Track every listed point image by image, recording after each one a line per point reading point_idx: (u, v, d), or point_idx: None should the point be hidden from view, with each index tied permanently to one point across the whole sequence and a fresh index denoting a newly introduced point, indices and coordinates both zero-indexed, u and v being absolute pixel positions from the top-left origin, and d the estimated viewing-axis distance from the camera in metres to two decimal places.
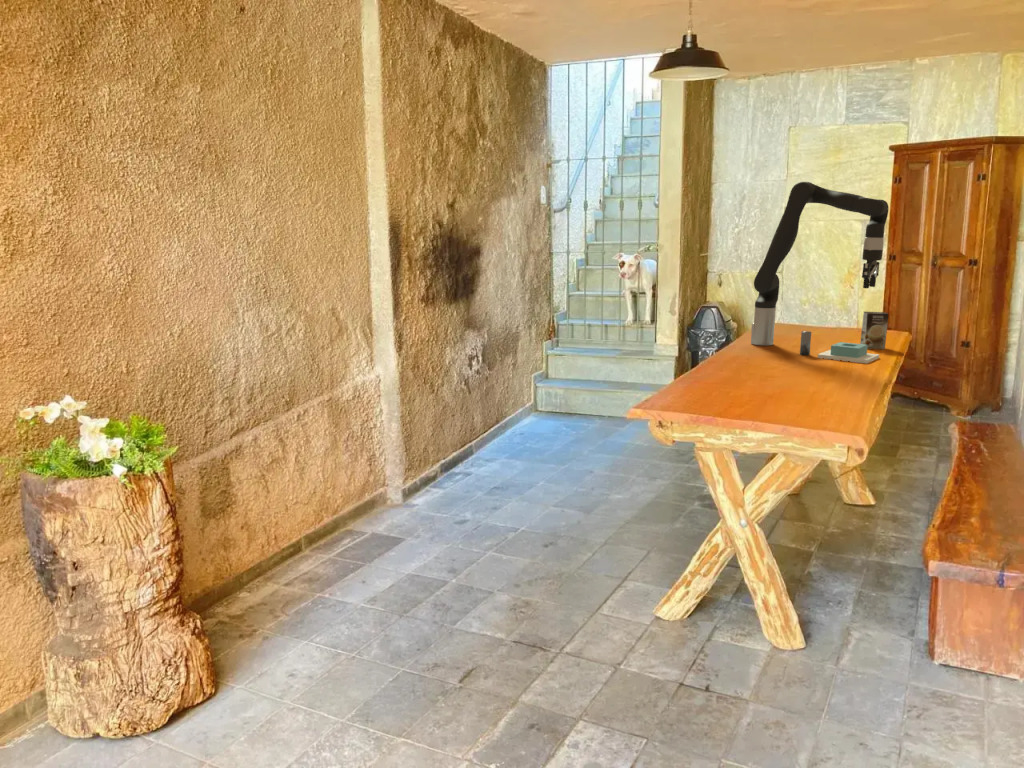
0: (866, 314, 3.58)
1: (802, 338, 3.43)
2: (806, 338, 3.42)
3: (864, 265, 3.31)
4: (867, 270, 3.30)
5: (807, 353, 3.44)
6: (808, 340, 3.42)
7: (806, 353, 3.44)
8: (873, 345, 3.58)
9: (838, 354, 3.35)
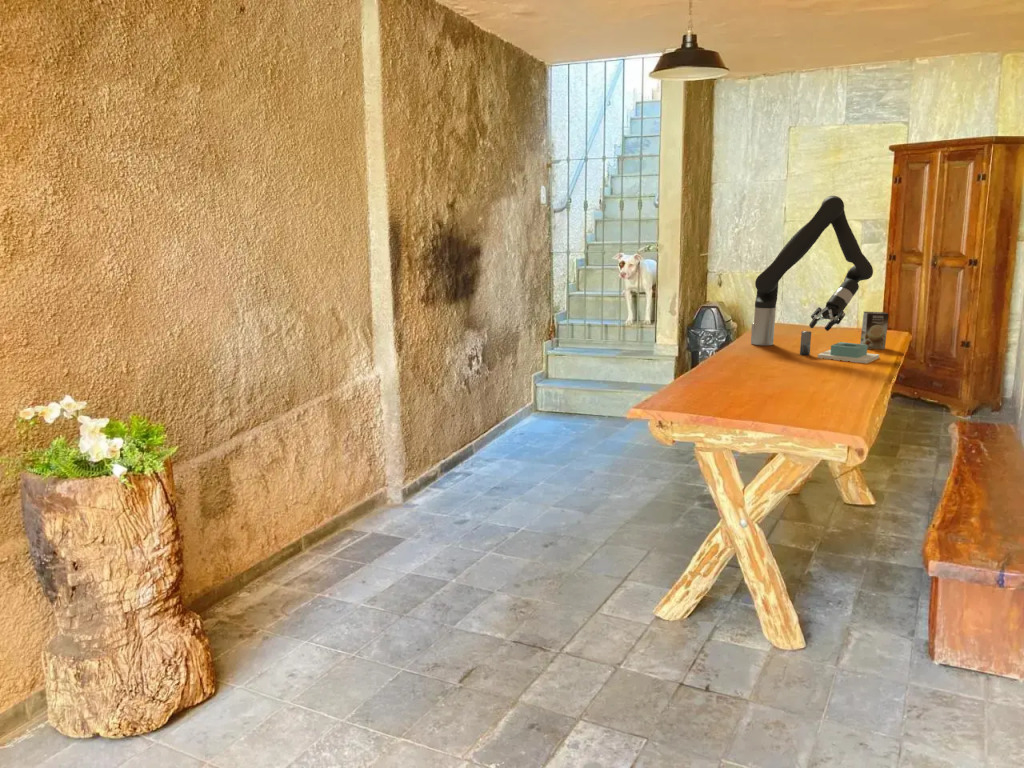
0: (866, 314, 3.58)
1: (802, 338, 3.43)
2: (806, 338, 3.42)
3: (842, 312, 3.41)
4: (841, 318, 3.42)
5: (807, 353, 3.44)
6: (808, 340, 3.42)
7: (806, 353, 3.44)
8: (873, 345, 3.58)
9: (838, 354, 3.35)
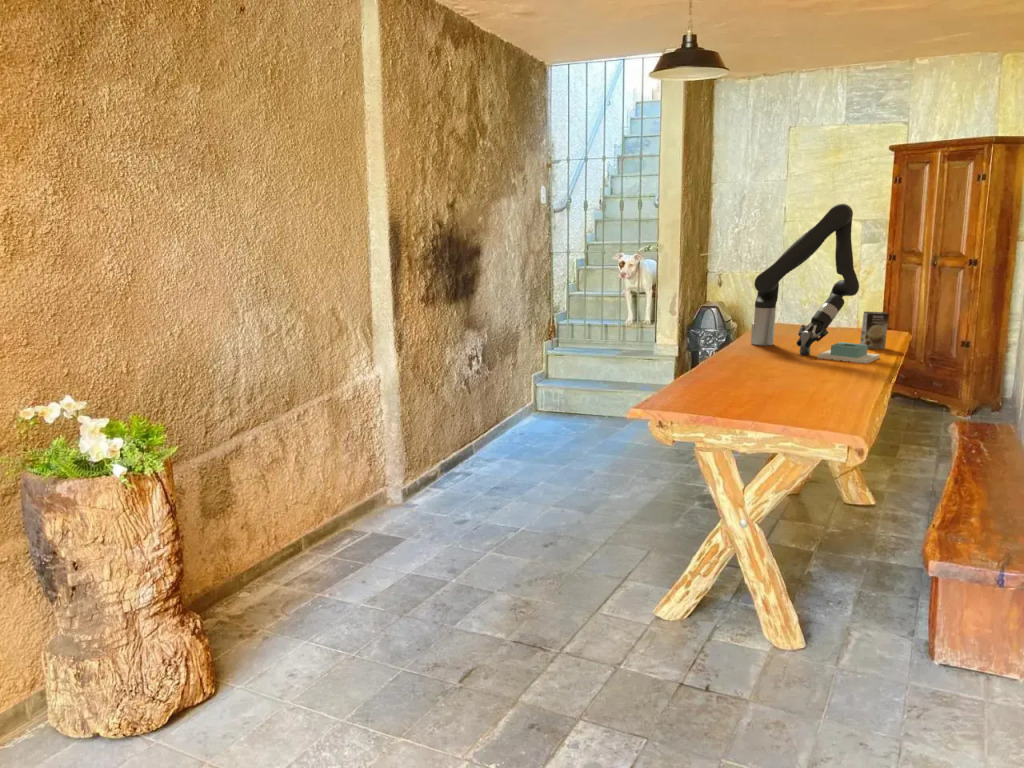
0: (866, 314, 3.58)
1: (802, 338, 3.43)
2: (806, 338, 3.42)
3: (825, 331, 3.39)
4: (823, 336, 3.40)
5: (807, 353, 3.44)
6: None
7: (806, 353, 3.43)
8: (873, 345, 3.58)
9: (838, 354, 3.35)
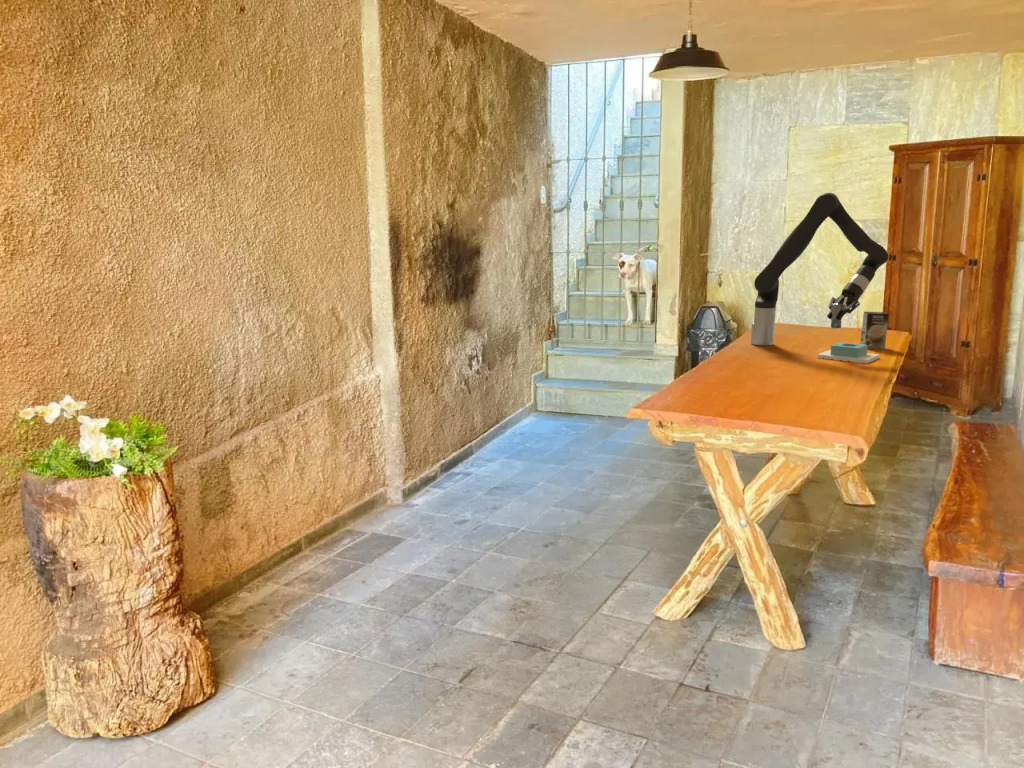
0: (866, 314, 3.58)
1: (833, 310, 3.35)
2: (837, 311, 3.34)
3: (856, 302, 3.31)
4: (854, 307, 3.32)
5: (838, 326, 3.36)
6: None
7: (838, 325, 3.36)
8: (873, 345, 3.58)
9: (838, 354, 3.35)
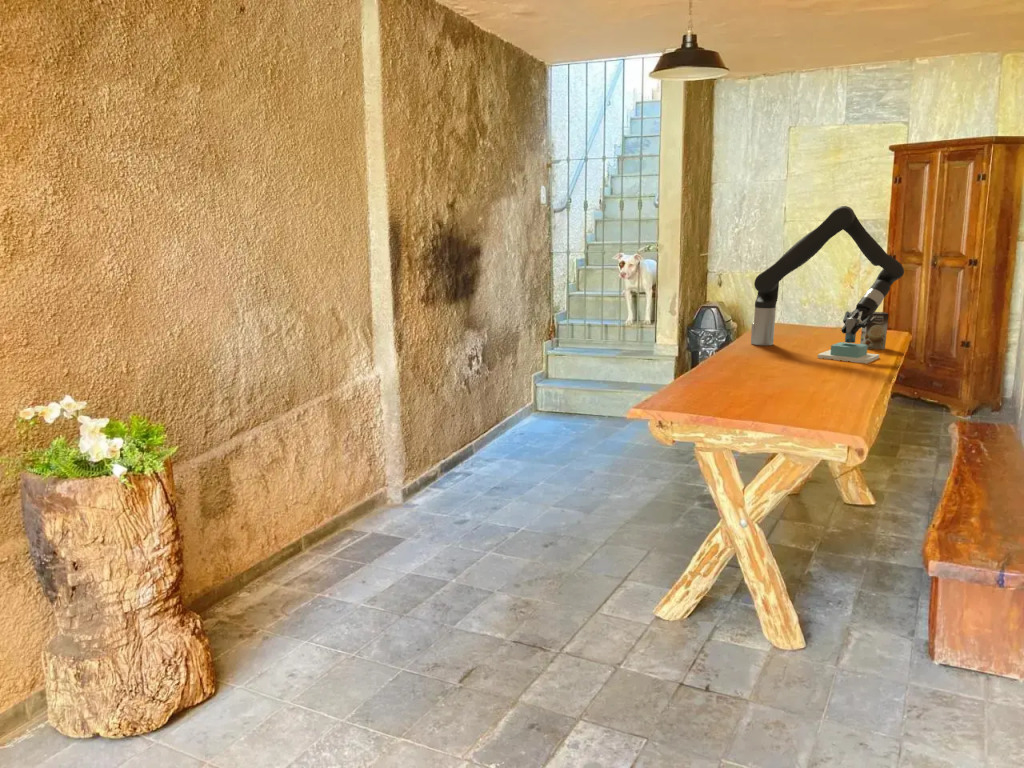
0: None
1: (847, 325, 3.34)
2: (851, 325, 3.33)
3: (871, 317, 3.30)
4: (869, 322, 3.31)
5: (853, 340, 3.34)
6: None
7: (852, 340, 3.34)
8: (873, 345, 3.58)
9: (838, 354, 3.35)
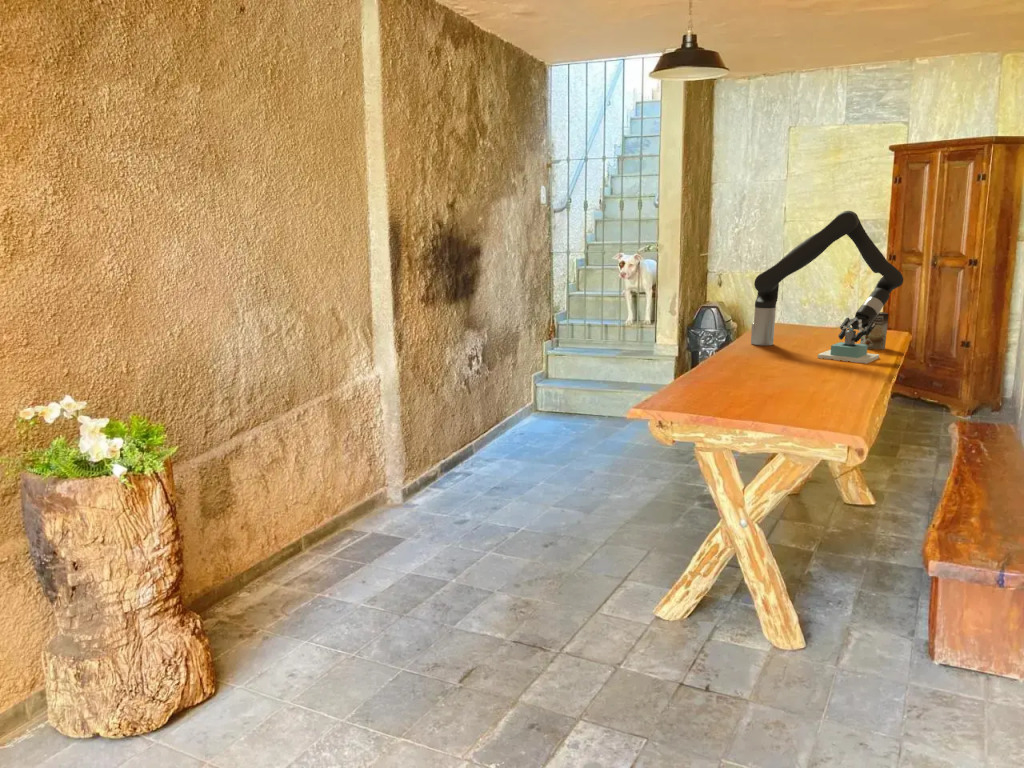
0: None
1: (846, 337, 3.35)
2: (850, 338, 3.34)
3: (872, 323, 3.31)
4: (871, 329, 3.31)
5: None
6: None
7: None
8: (873, 345, 3.58)
9: (838, 354, 3.35)
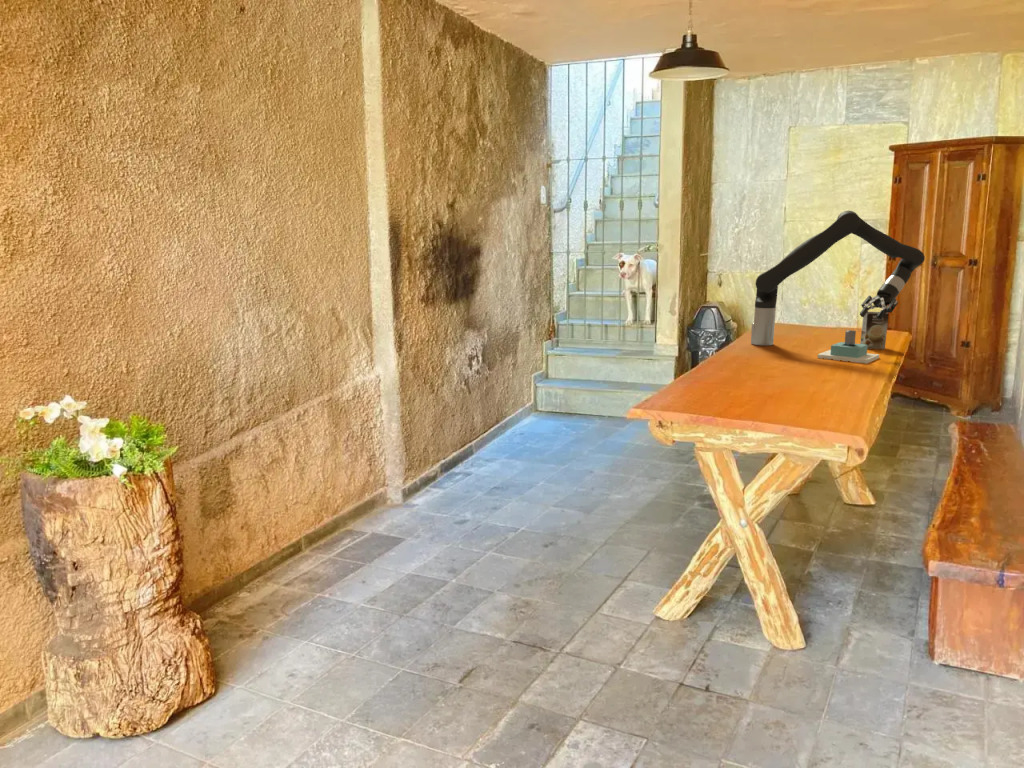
0: (866, 314, 3.58)
1: (846, 337, 3.35)
2: (850, 338, 3.34)
3: (895, 300, 3.34)
4: (894, 306, 3.34)
5: None
6: (852, 339, 3.34)
7: None
8: (873, 345, 3.58)
9: (838, 354, 3.35)
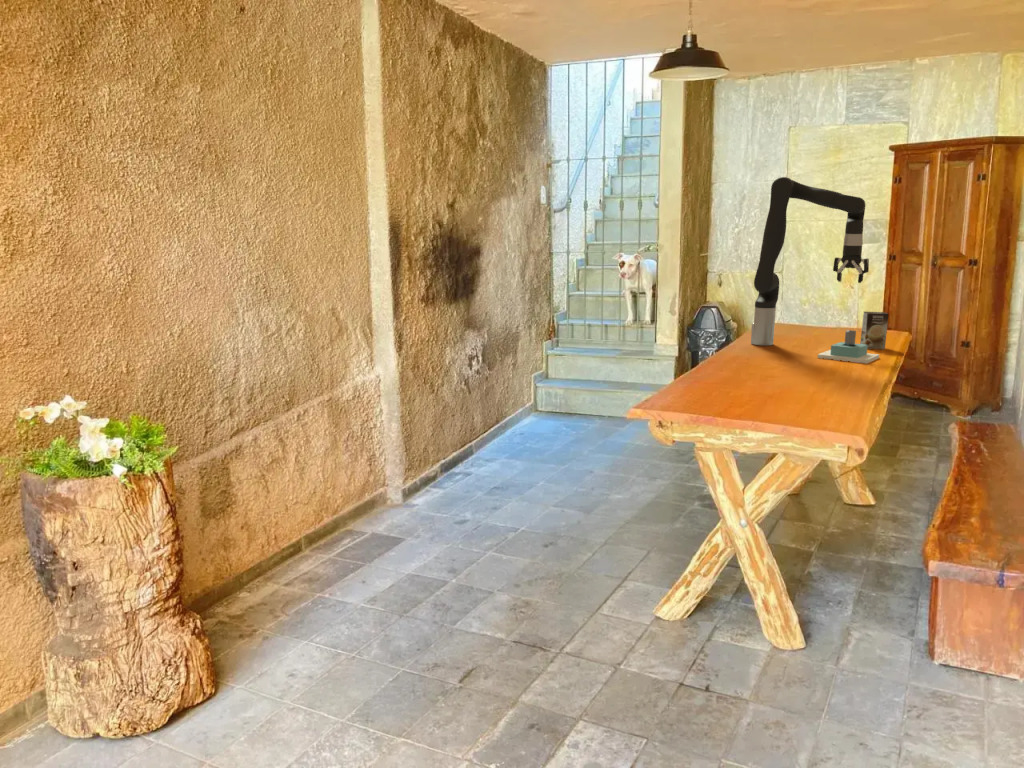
0: (866, 314, 3.58)
1: (846, 337, 3.35)
2: (850, 338, 3.34)
3: (867, 260, 3.43)
4: (868, 265, 3.44)
5: None
6: (852, 339, 3.34)
7: None
8: (873, 345, 3.58)
9: (838, 354, 3.35)
